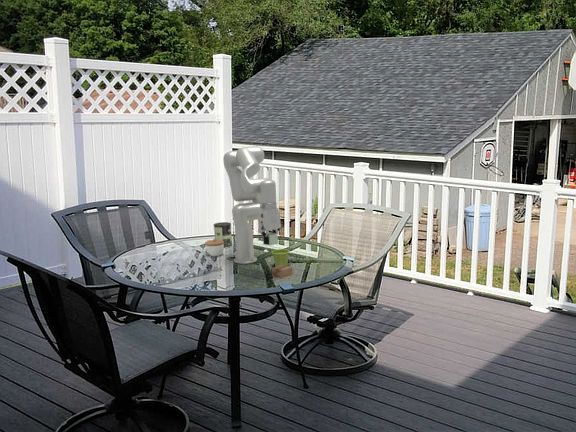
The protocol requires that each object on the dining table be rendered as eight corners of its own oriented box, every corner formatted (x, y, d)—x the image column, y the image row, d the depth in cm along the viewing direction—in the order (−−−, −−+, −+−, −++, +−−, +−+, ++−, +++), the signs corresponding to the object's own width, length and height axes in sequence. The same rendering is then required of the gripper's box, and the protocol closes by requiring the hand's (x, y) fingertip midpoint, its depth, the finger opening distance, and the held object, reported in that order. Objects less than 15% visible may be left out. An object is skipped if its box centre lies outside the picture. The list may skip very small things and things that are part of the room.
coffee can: (233, 244, 368) (231, 221, 365) (231, 248, 357) (230, 225, 355) (216, 245, 368) (214, 222, 365) (214, 249, 358) (212, 225, 355)
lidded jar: (221, 251, 351) (220, 236, 349) (227, 255, 341) (226, 239, 339) (203, 254, 346) (202, 238, 344) (209, 258, 337) (208, 242, 335)
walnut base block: (272, 275, 295) (271, 267, 294) (282, 272, 300) (281, 264, 299) (282, 278, 290) (282, 270, 289) (292, 274, 295) (292, 266, 294)
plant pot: (284, 271, 307) (283, 254, 305) (268, 268, 312) (268, 252, 310) (293, 266, 314) (293, 250, 313) (278, 264, 319) (277, 248, 318)
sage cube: (263, 244, 292) (262, 234, 291) (270, 242, 295) (270, 232, 294) (270, 245, 288) (270, 235, 287) (277, 243, 292) (277, 233, 291)
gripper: (261, 209, 280) (263, 247, 283) (287, 204, 292) (288, 240, 295) (250, 208, 285) (252, 245, 289) (276, 202, 297) (277, 238, 300)
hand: (270, 242), depth 292 cm, fingers closed on sage cube, 5 cm apart
